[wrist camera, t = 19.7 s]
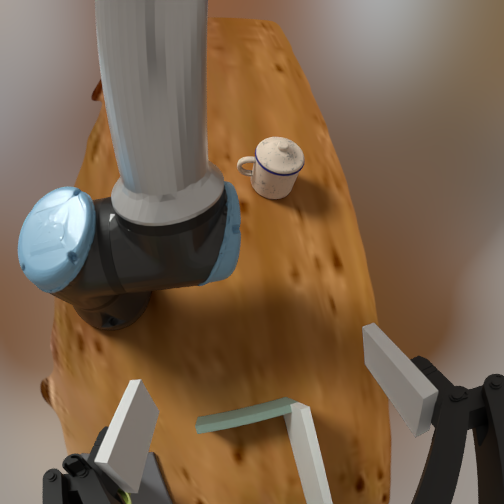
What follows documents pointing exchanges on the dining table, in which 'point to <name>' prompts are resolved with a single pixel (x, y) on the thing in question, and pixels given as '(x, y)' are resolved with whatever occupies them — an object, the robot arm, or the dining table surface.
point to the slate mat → (149, 484)
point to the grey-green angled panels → (299, 435)
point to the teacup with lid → (274, 167)
